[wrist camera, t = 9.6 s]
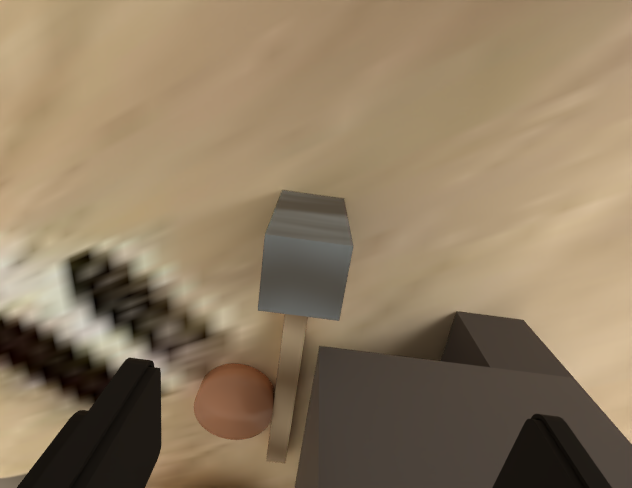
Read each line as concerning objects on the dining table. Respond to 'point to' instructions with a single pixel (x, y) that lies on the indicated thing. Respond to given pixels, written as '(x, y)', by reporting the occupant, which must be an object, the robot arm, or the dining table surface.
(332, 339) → the dining table surface
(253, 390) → the coaster
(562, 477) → the robot arm
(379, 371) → the cabinet
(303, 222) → the grey block with handle
